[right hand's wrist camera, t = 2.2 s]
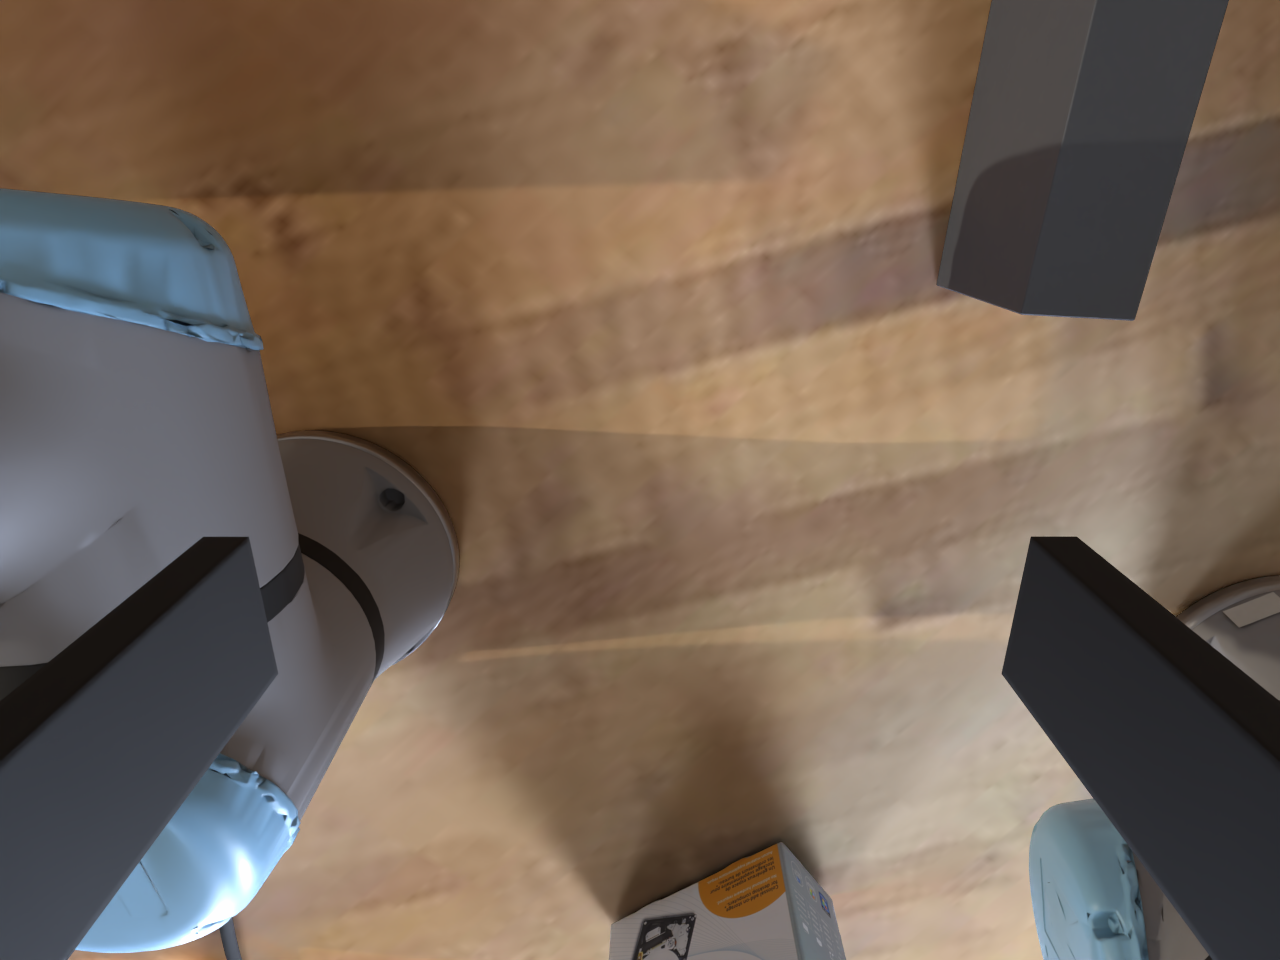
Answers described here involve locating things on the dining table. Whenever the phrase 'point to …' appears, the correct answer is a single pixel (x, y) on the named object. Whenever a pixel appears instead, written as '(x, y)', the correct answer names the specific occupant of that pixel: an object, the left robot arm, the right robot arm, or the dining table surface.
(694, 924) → the hard drive box
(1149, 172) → the bar
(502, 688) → the dining table surface
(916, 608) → the dining table surface
